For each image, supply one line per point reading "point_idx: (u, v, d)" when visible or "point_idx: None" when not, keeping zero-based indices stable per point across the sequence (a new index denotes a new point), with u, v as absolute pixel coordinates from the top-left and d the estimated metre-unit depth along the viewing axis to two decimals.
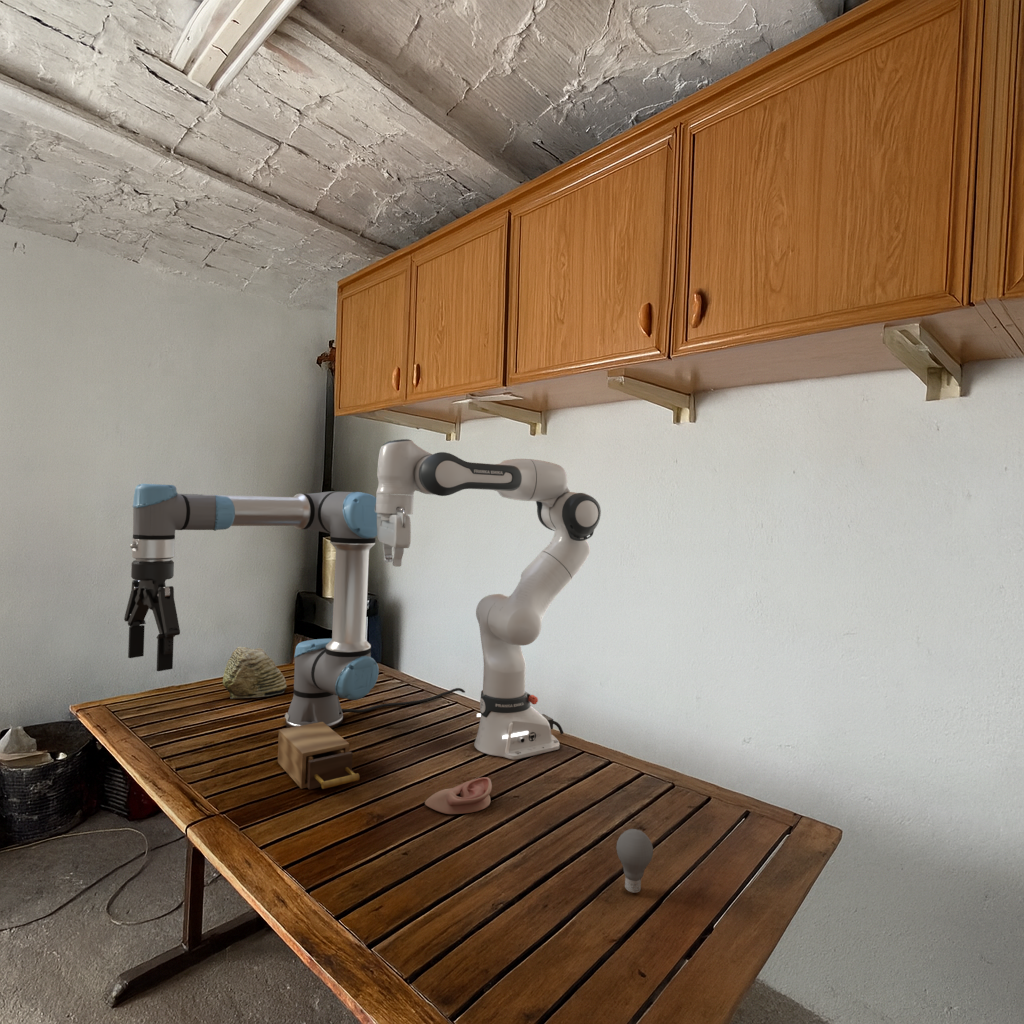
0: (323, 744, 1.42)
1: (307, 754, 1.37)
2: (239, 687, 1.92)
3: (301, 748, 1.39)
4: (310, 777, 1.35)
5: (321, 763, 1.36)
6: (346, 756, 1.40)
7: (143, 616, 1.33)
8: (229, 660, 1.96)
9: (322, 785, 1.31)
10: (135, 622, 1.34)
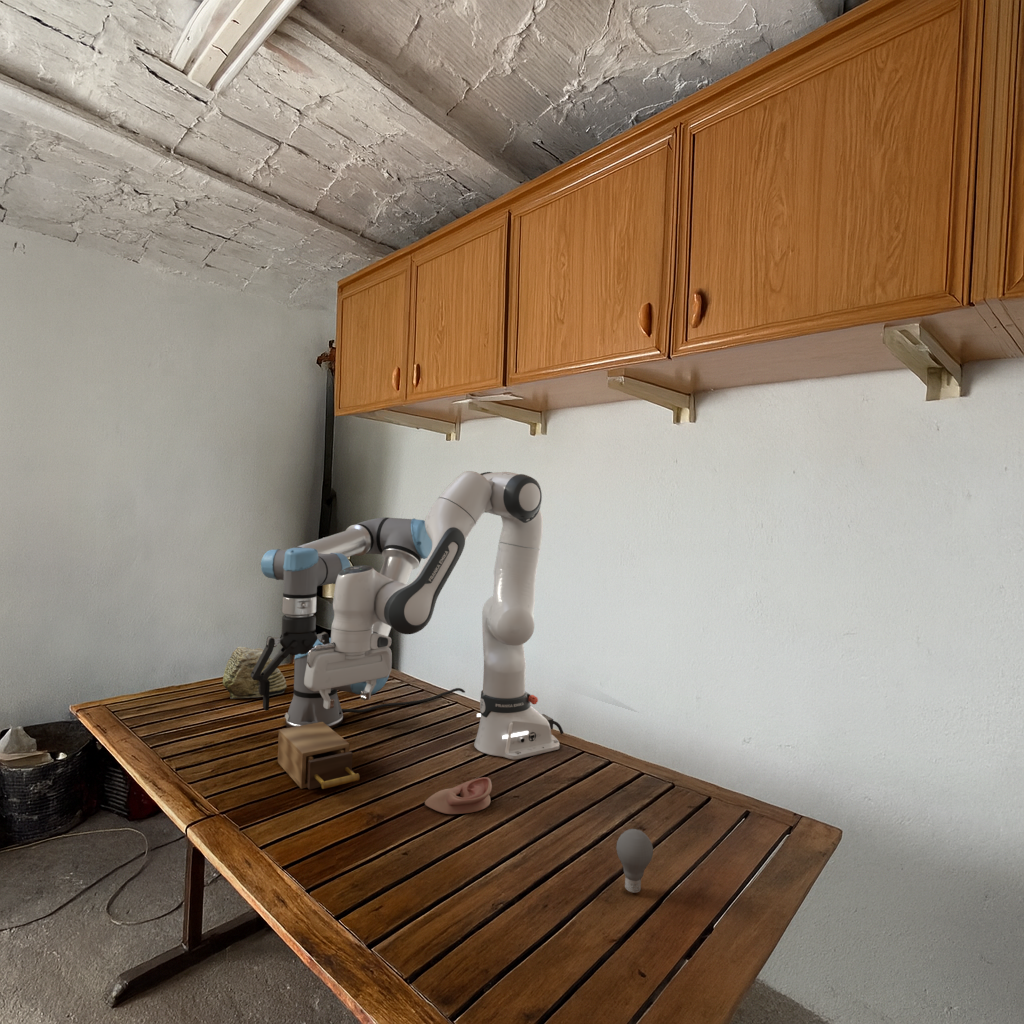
0: (323, 744, 1.42)
1: (307, 754, 1.37)
2: (239, 687, 1.92)
3: (301, 748, 1.39)
4: (310, 777, 1.35)
5: (321, 763, 1.36)
6: (346, 756, 1.40)
7: None
8: (229, 660, 1.96)
9: (322, 785, 1.31)
10: None
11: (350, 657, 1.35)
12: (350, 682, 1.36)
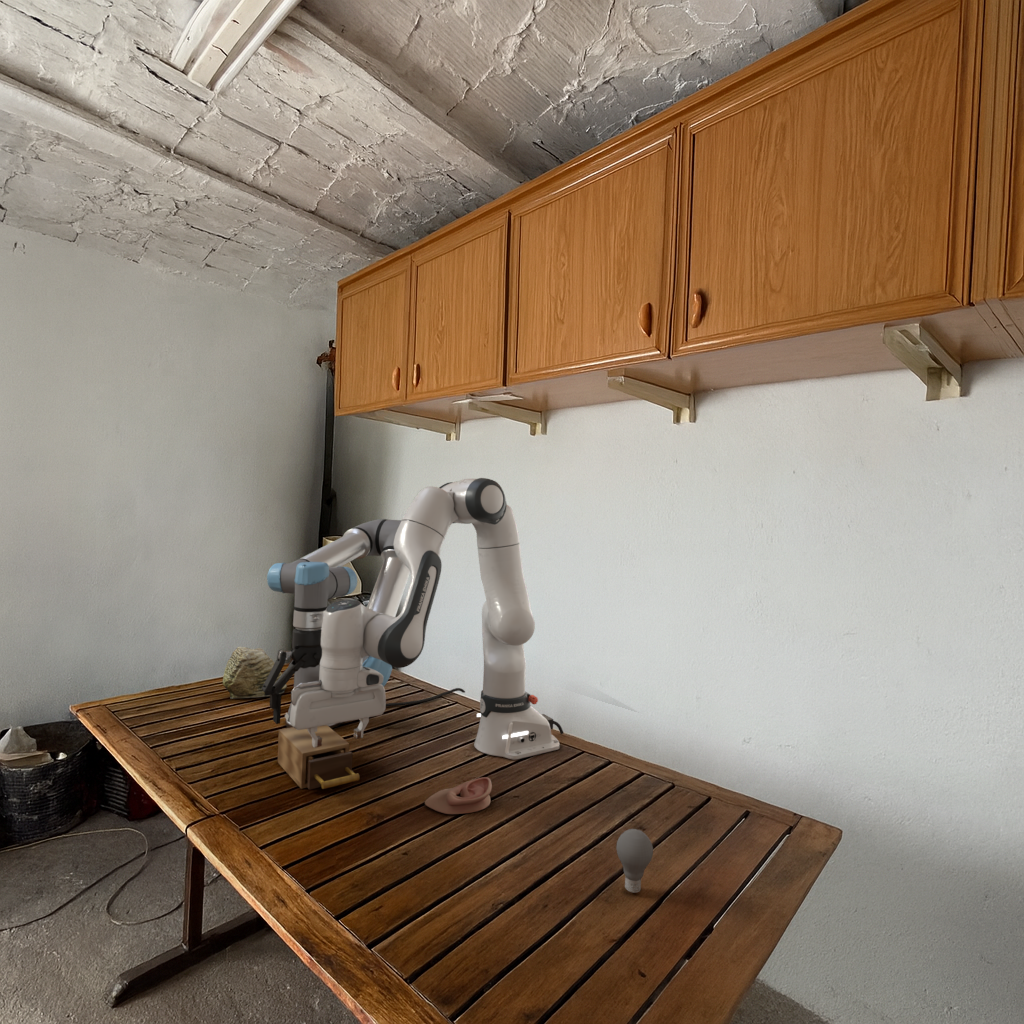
0: (323, 744, 1.42)
1: (307, 754, 1.37)
2: (239, 687, 1.92)
3: (301, 748, 1.39)
4: (310, 777, 1.35)
5: (321, 763, 1.36)
6: (346, 756, 1.40)
7: None
8: (229, 660, 1.96)
9: (322, 785, 1.31)
10: None
11: (336, 695, 1.32)
12: (338, 720, 1.33)
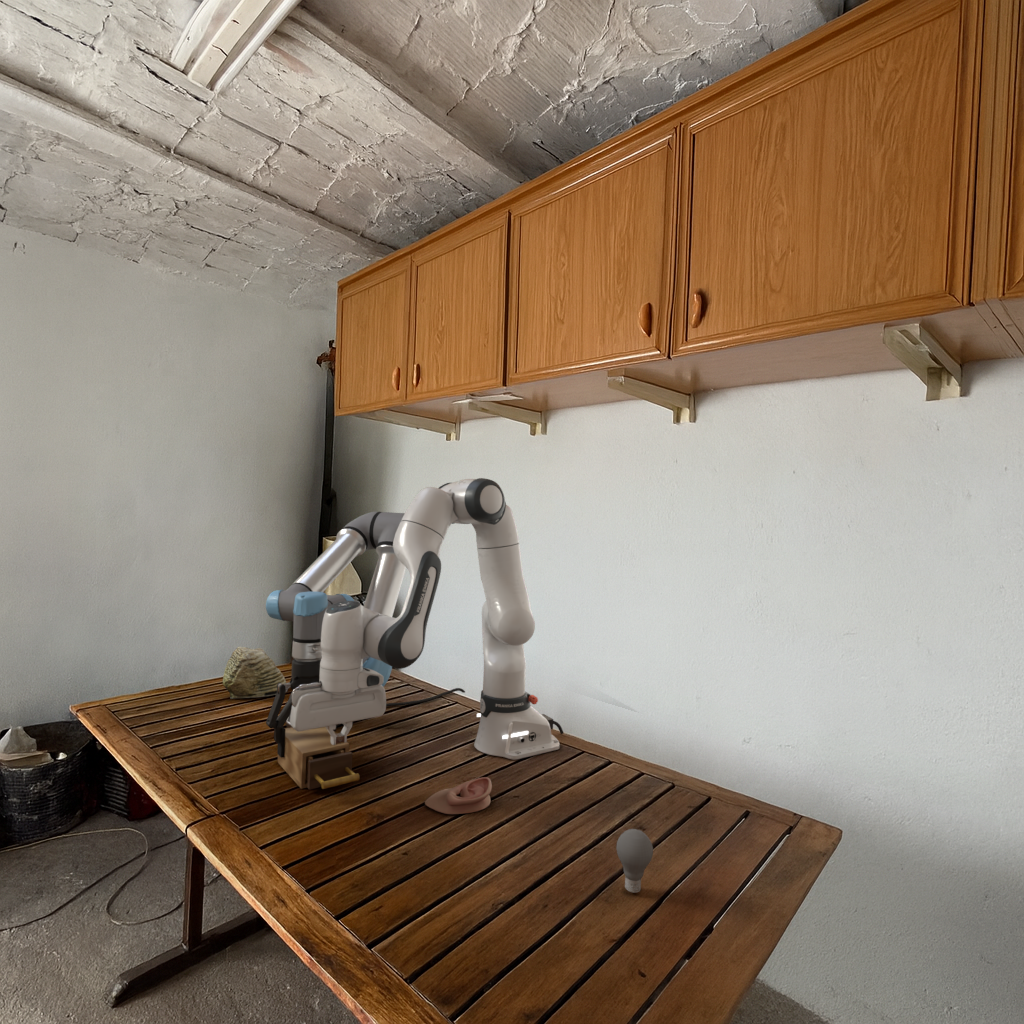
0: (323, 745, 1.42)
1: (307, 754, 1.37)
2: (239, 687, 1.92)
3: (301, 748, 1.39)
4: (310, 777, 1.35)
5: (321, 763, 1.36)
6: (346, 756, 1.40)
7: None
8: (229, 660, 1.96)
9: (322, 785, 1.31)
10: None
11: (336, 696, 1.32)
12: (338, 722, 1.33)
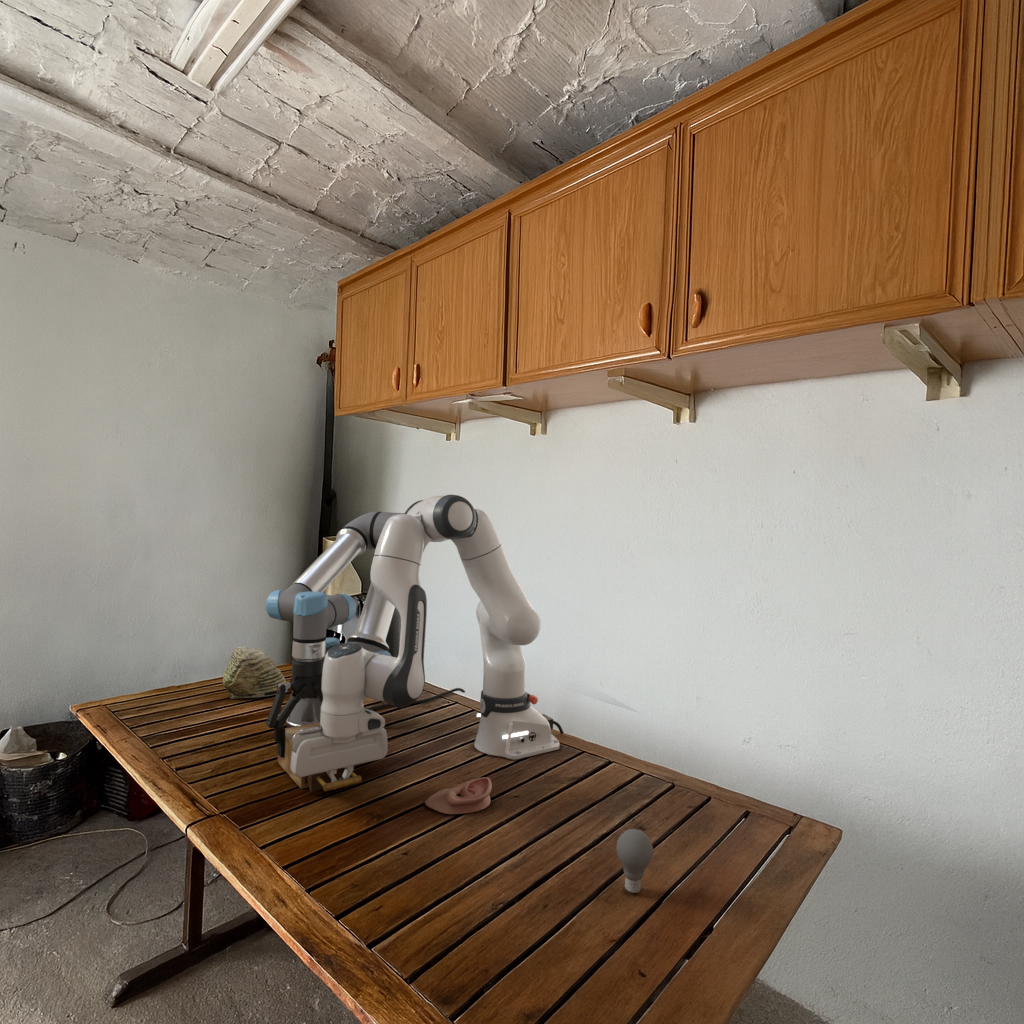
0: None
1: None
2: (239, 687, 1.92)
3: None
4: (312, 779, 1.34)
5: None
6: None
7: None
8: (229, 660, 1.96)
9: (324, 787, 1.30)
10: None
11: (337, 741, 1.30)
12: (339, 766, 1.32)
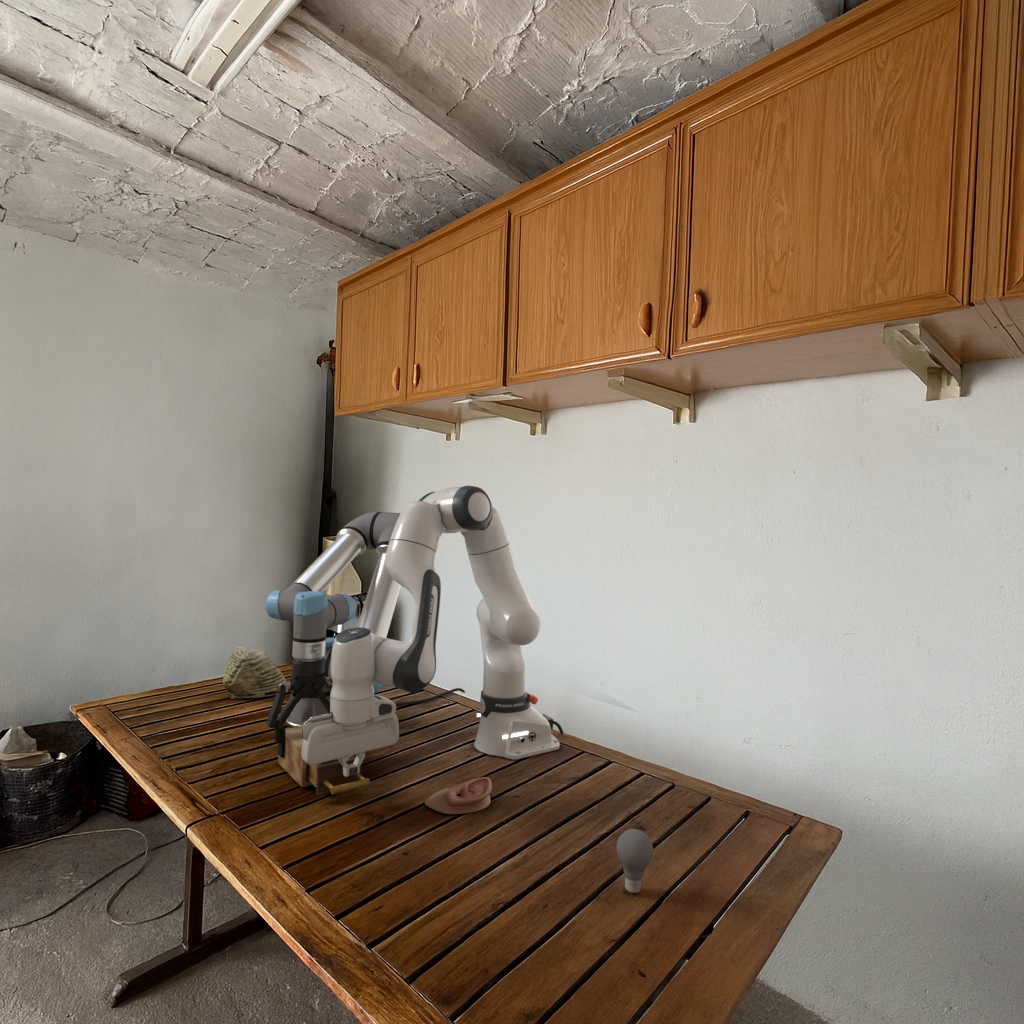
0: None
1: None
2: (239, 687, 1.92)
3: None
4: (319, 783, 1.31)
5: (330, 768, 1.32)
6: None
7: None
8: (229, 660, 1.96)
9: (331, 790, 1.27)
10: None
11: (349, 728, 1.28)
12: (351, 753, 1.29)
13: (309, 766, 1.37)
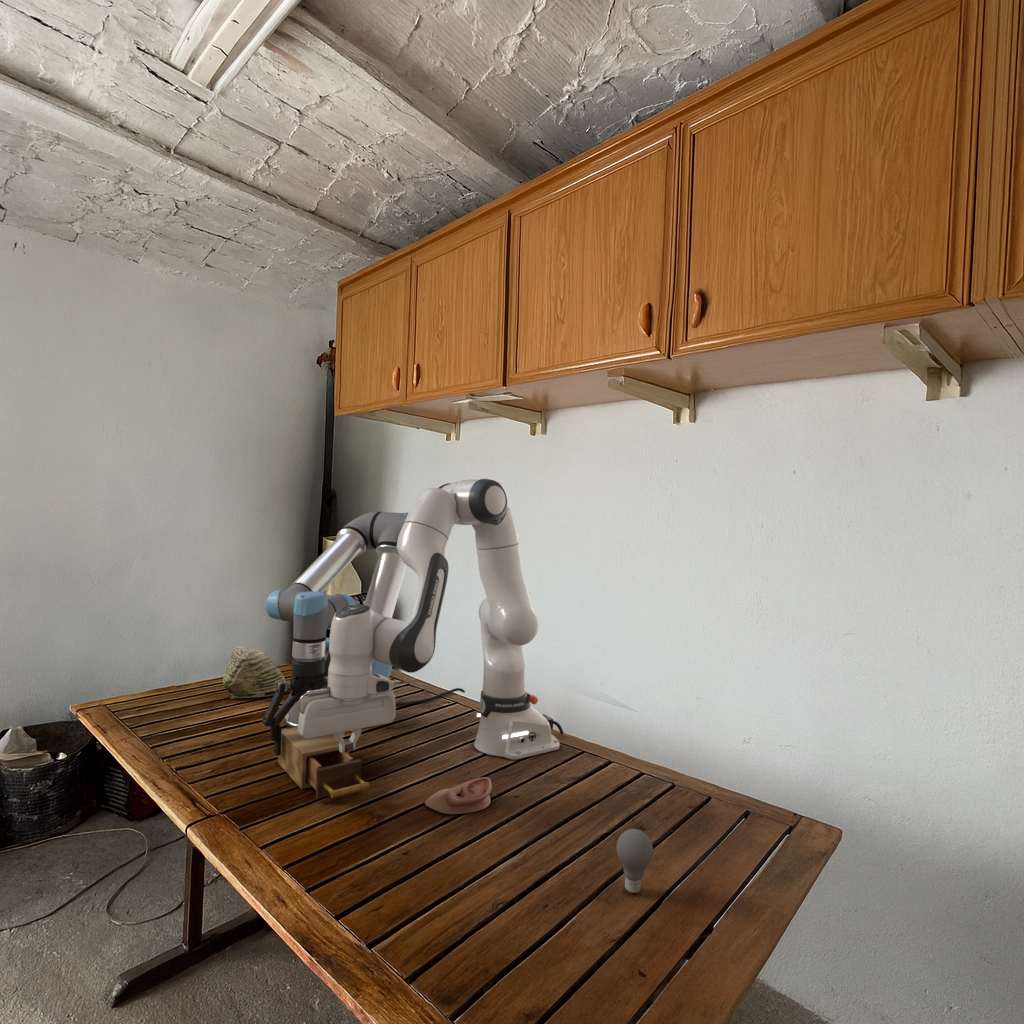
0: (323, 745, 1.42)
1: (307, 754, 1.37)
2: (239, 687, 1.92)
3: (302, 748, 1.39)
4: (318, 786, 1.31)
5: (329, 771, 1.32)
6: (355, 764, 1.36)
7: None
8: (229, 660, 1.96)
9: (331, 794, 1.27)
10: None
11: (345, 703, 1.28)
12: (347, 729, 1.29)
13: (309, 768, 1.37)
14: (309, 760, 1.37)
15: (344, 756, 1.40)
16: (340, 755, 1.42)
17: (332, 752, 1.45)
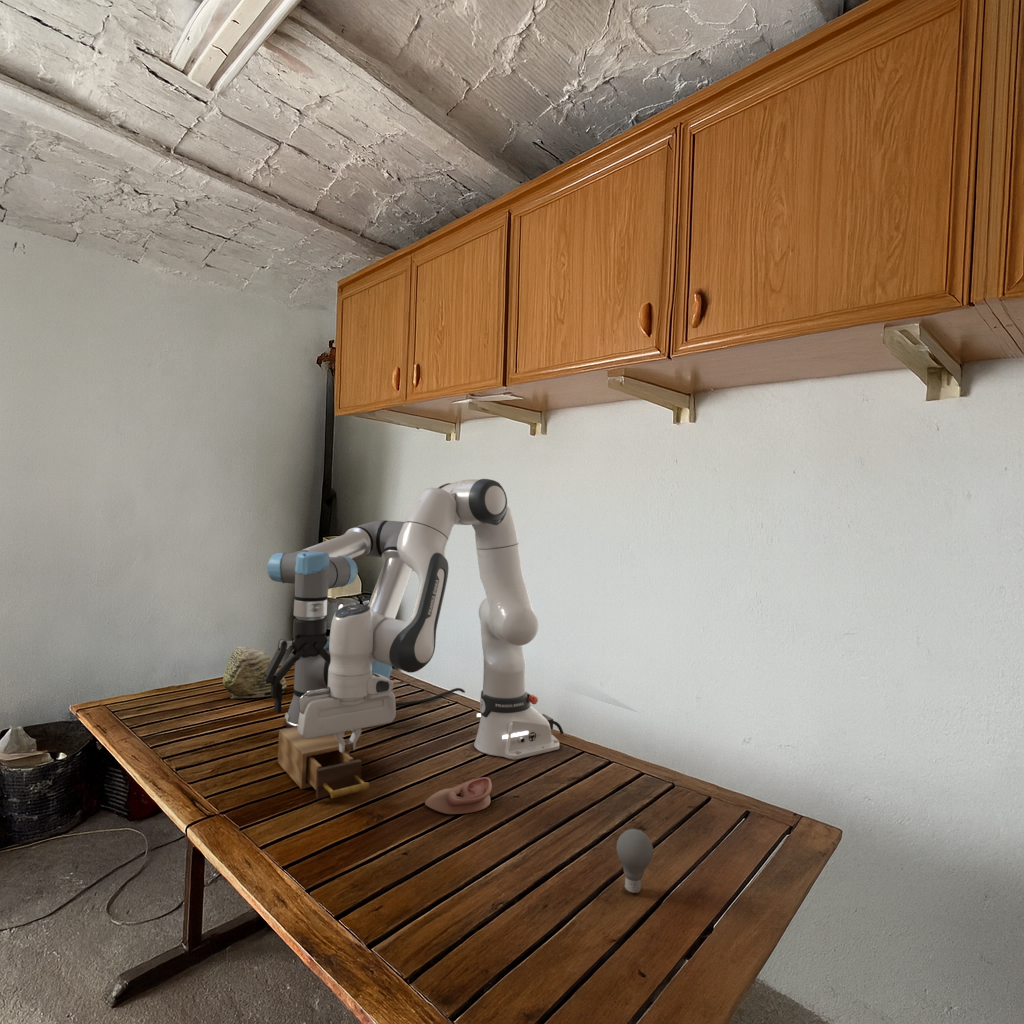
0: (323, 745, 1.42)
1: (307, 754, 1.37)
2: (239, 687, 1.92)
3: (302, 748, 1.39)
4: (318, 786, 1.31)
5: (329, 772, 1.32)
6: (355, 764, 1.36)
7: None
8: (229, 660, 1.96)
9: (331, 794, 1.27)
10: None
11: (345, 703, 1.28)
12: (347, 729, 1.29)
13: (309, 768, 1.37)
14: (309, 760, 1.37)
15: (344, 756, 1.40)
16: (340, 755, 1.42)
17: (332, 752, 1.45)
